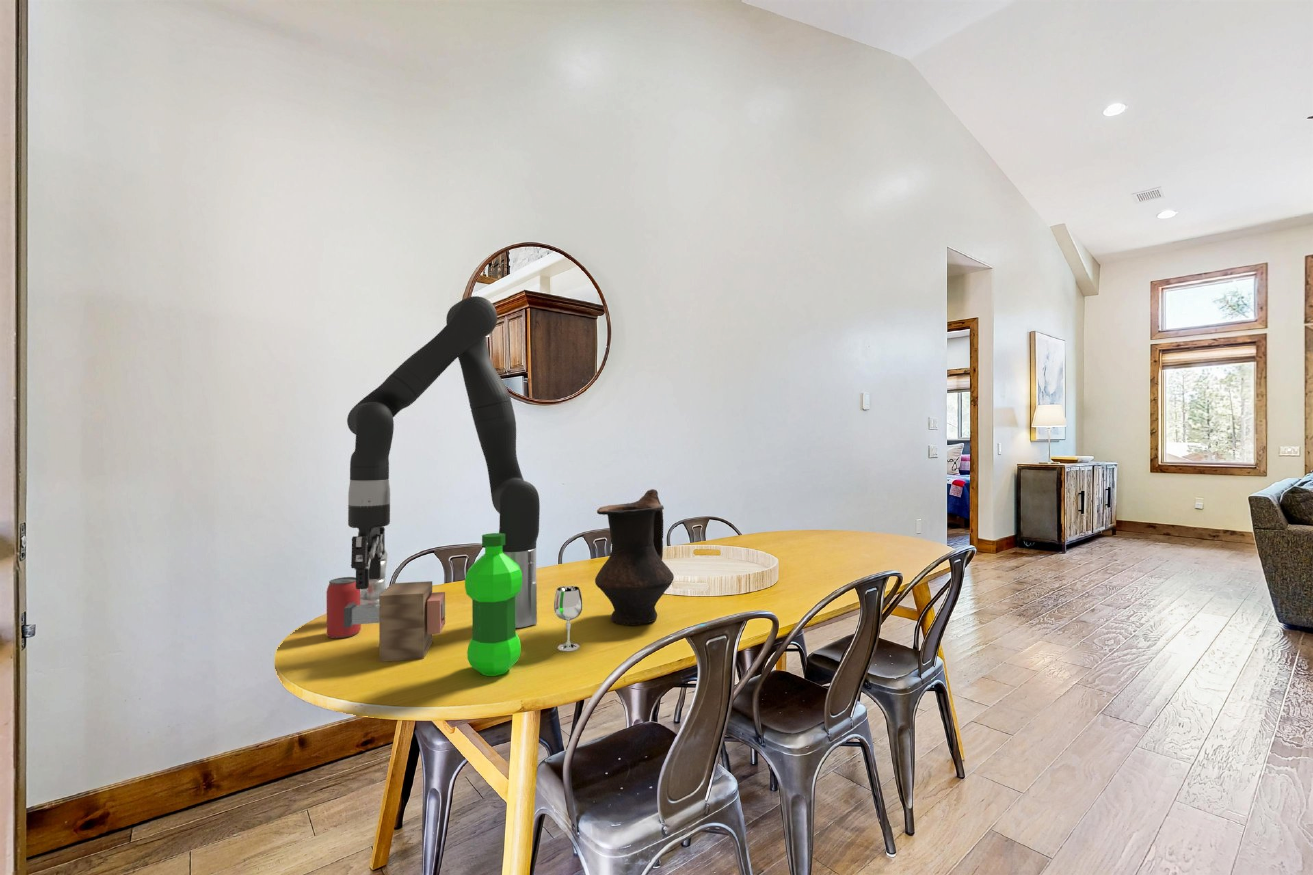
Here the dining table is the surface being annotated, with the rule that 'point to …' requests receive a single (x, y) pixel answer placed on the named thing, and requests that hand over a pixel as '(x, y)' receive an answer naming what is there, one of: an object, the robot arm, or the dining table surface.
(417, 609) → the brown wooden block
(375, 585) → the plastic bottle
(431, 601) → the spacer
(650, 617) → the jug
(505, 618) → the plastic bottle
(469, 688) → the dining table surface
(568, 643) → the wineglass
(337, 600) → the beer can
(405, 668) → the dining table surface
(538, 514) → the robot arm
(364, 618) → the shaft
